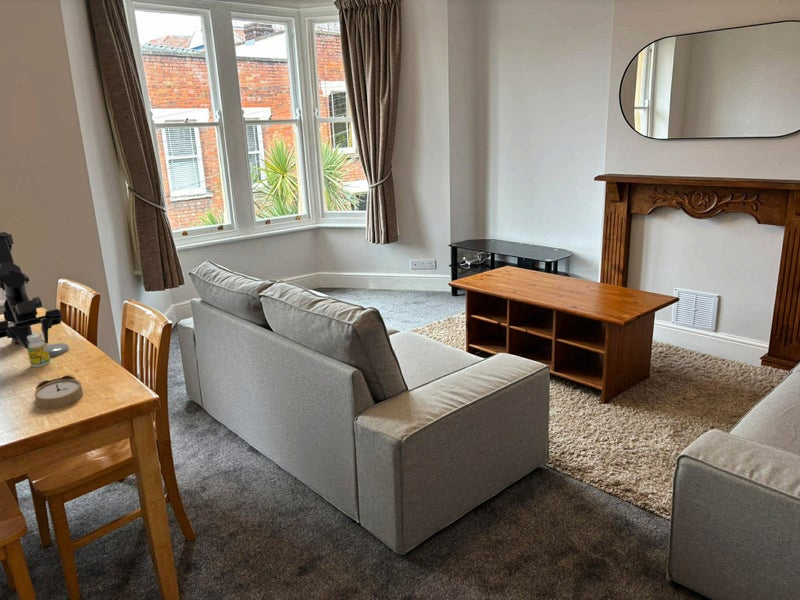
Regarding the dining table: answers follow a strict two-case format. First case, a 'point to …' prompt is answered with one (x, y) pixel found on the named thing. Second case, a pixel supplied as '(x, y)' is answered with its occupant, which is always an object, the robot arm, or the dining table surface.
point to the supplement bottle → (37, 350)
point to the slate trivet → (57, 349)
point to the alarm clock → (58, 392)
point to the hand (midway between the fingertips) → (37, 345)
